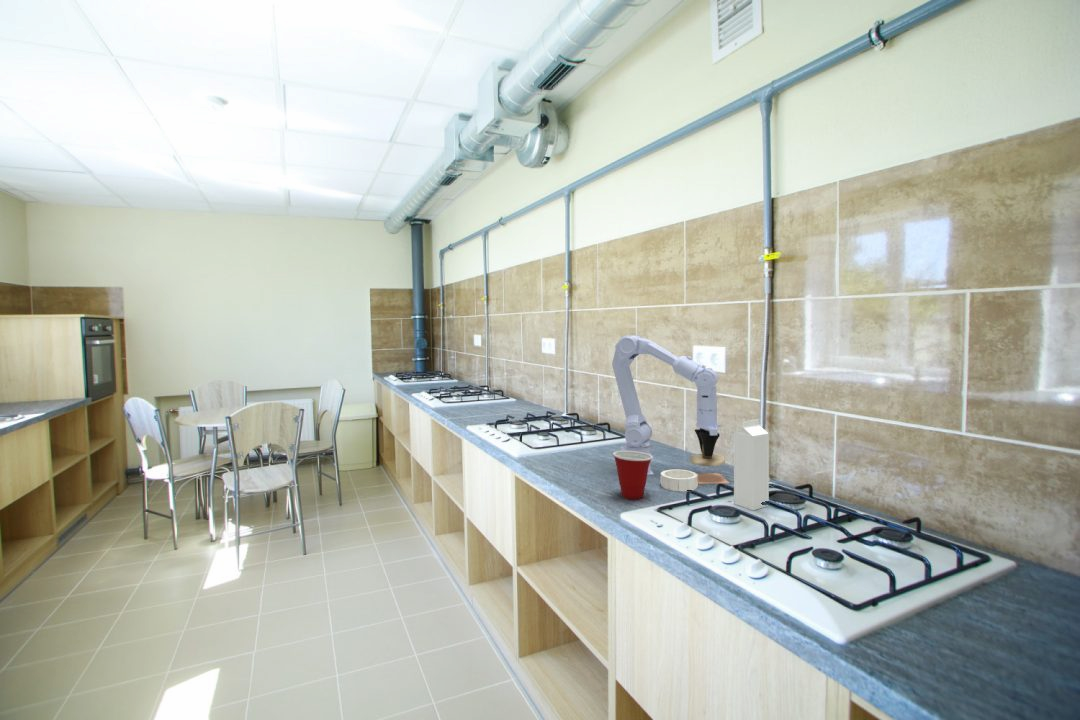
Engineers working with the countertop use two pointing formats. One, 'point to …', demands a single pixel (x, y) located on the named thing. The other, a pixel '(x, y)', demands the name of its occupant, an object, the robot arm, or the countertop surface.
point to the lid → (707, 459)
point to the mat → (711, 478)
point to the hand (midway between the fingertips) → (706, 454)
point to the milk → (751, 465)
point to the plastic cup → (632, 472)
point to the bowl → (679, 480)
